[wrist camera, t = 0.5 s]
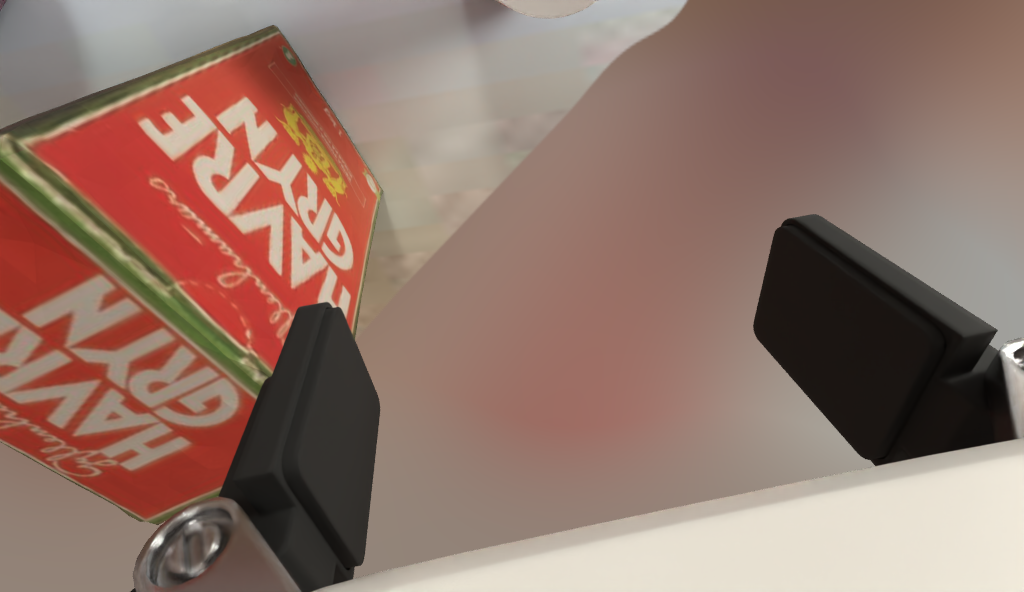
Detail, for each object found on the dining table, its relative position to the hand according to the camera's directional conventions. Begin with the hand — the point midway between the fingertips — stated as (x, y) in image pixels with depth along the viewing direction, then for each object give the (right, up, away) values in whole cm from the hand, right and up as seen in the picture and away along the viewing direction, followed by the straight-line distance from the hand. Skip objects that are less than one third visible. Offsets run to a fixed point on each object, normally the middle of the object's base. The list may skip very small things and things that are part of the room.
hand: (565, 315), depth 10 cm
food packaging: (-18, +12, +25) cm, 33 cm away
